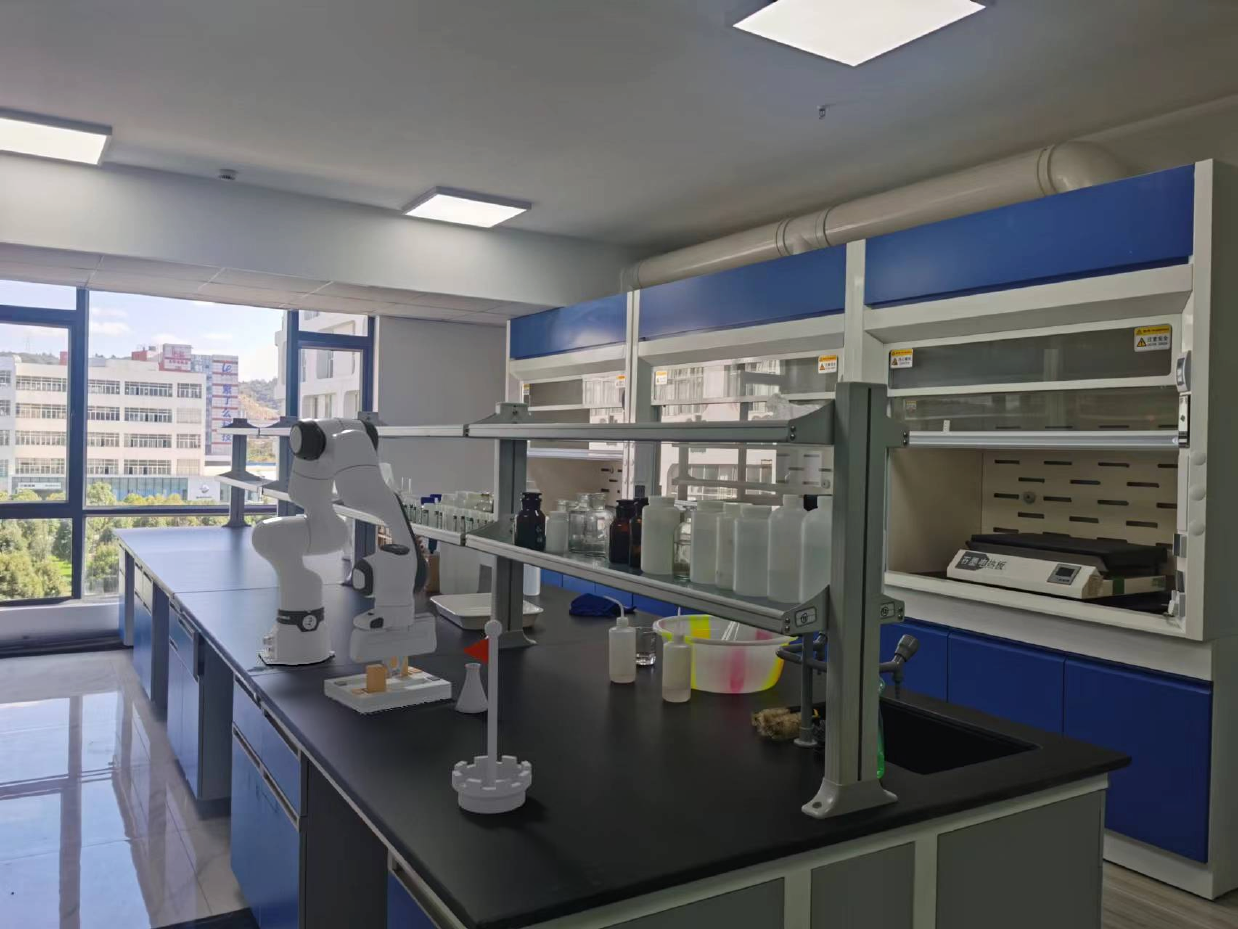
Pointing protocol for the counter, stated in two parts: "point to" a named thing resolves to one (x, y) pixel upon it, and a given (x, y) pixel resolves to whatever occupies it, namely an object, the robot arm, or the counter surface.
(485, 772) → the flag stand
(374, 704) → the switch box
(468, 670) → the flask
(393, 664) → the tab
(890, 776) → the counter surface
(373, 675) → the tab
